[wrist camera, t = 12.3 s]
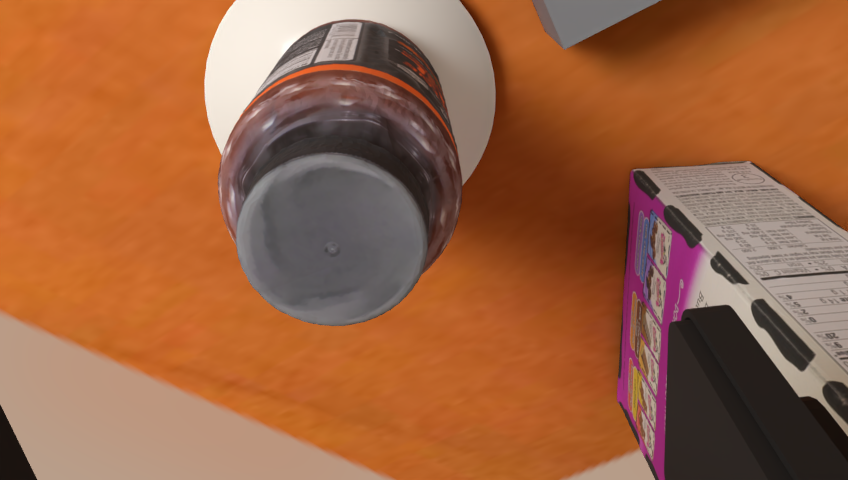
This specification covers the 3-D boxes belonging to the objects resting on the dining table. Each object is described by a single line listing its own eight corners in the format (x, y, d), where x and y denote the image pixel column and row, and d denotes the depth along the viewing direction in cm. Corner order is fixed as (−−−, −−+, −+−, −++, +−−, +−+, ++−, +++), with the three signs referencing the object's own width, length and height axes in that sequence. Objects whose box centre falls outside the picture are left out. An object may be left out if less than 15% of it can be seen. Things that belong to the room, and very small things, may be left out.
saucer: (537, 154, 27) (540, 160, 26) (305, 268, 28) (303, 275, 28) (412, -112, 23) (413, -112, 22) (148, 38, 24) (143, 42, 24)
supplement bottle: (473, 133, 26) (527, 296, 15) (330, 210, 27) (293, 410, 17) (387, -22, 23) (385, 51, 13) (234, 70, 24) (122, 203, 14)
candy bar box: (725, 388, 32) (1009, 815, 17) (613, 398, 32) (803, 834, 17) (759, 150, 27) (1197, 469, 12) (626, 161, 27) (909, 494, 12)
